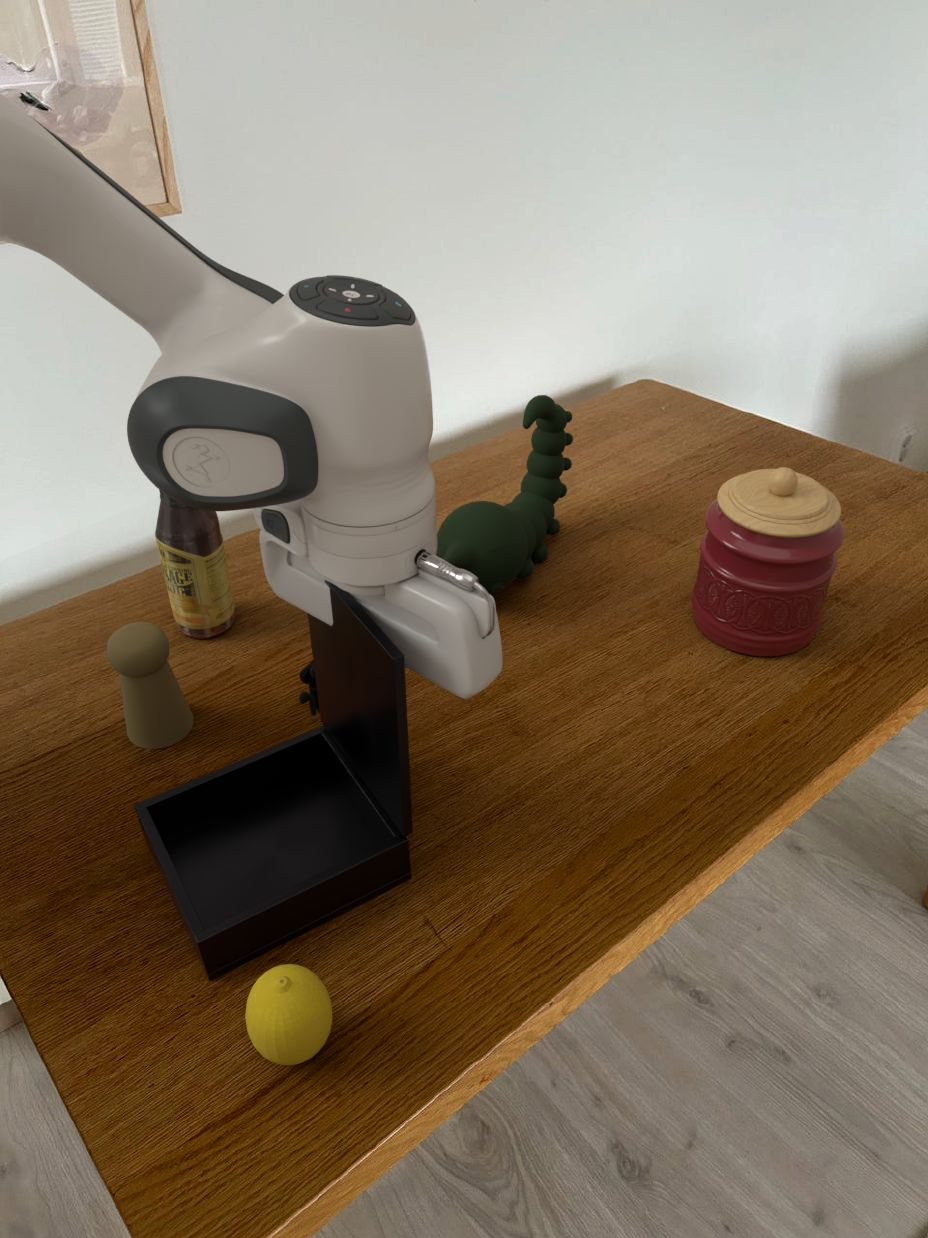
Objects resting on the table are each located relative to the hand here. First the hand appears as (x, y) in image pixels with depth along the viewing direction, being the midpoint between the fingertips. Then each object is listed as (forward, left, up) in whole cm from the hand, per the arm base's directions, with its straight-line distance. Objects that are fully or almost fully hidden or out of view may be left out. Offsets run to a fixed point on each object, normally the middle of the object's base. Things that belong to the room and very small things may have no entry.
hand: (384, 681), depth 74 cm
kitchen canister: (+43, +2, -14) cm, 45 cm away
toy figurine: (+26, +23, -14) cm, 38 cm away
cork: (-14, +20, -14) cm, 28 cm away
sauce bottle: (-5, +32, -14) cm, 35 cm away
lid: (-3, 0, 0) cm, 3 cm away
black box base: (-11, 0, -14) cm, 18 cm away
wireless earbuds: (0, +15, -14) cm, 21 cm away
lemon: (-16, -15, -14) cm, 26 cm away
